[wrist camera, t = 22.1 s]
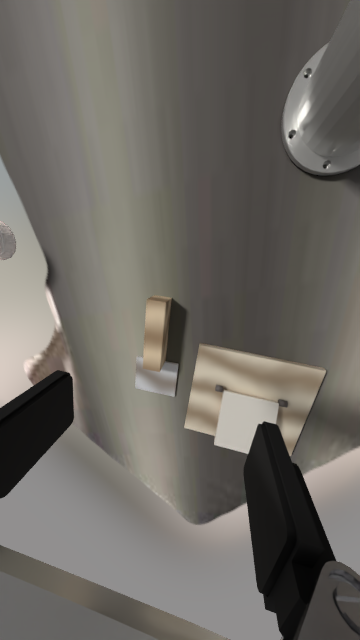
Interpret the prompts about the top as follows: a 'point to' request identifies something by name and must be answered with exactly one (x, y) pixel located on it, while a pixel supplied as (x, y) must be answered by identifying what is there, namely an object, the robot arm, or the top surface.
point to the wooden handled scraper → (156, 350)
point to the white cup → (6, 242)
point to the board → (252, 388)
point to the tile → (242, 419)
